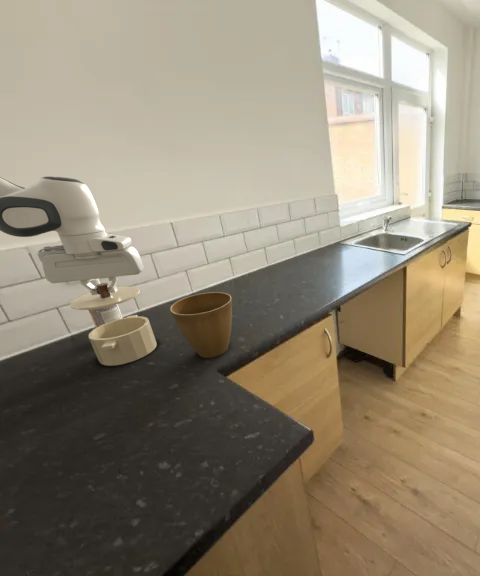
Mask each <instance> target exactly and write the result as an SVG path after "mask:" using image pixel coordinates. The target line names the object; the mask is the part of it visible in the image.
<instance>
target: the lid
mask: <svg viewBox="0 0 480 576" xmlns="http://www.w3.org/2000/svg"><path fill="white" fill-rule="evenodd" d="M100 283H101V284H98V285H96V287H97V289H98V292H99V294H98V295H91V293H90V292H88V293H85V294H83V295H80V296H78V297H75V298H74V299H73V300H71V301H70V302H69V306H70V309H73V310H76V311H89V310H91V309H99V308H104V307H109V306H113V305H117V304H118V305H119V304H123V303H125V302H128V301H131V300H132V299H134V298H136V297H137V296H139V295H140V293H141V290H140V288H138V287H136V286H129V285H128V286H127V285H126V286H116V287H117V292H115V293H109V292H108V290H107V287H109V283H108V282H100Z"/></svg>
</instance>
